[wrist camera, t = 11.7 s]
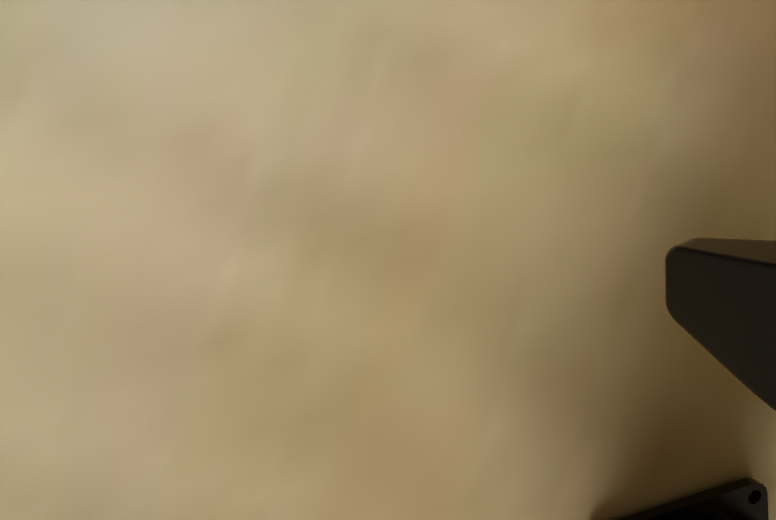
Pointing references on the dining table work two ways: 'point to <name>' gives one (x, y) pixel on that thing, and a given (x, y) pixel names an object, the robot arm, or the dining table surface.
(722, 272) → the robot arm
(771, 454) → the dining table surface
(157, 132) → the dining table surface
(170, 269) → the dining table surface
